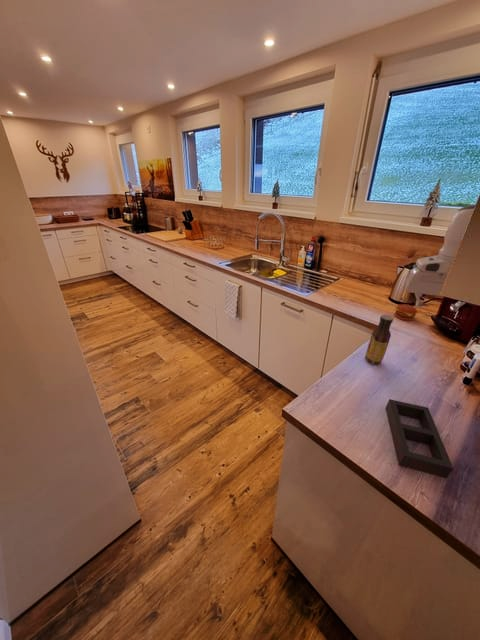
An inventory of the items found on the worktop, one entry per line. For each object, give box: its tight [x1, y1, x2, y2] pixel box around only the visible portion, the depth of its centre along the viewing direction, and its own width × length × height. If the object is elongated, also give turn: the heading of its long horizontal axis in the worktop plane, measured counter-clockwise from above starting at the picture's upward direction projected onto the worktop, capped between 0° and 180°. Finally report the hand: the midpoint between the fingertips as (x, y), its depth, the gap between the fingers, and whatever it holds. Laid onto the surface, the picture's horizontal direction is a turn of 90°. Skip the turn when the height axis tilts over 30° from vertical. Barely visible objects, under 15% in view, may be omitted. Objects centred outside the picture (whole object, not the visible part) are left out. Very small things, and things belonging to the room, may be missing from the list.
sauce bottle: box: [364, 314, 394, 366], centre depth 99 cm, size 6×6×20 cm
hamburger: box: [393, 303, 420, 322], centre depth 137 cm, size 9×10×7 cm
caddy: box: [385, 399, 454, 479], centre depth 72 cm, size 11×20×4 cm, turn 163°
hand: (435, 308), depth 82 cm, fingers open, 8 cm apart
